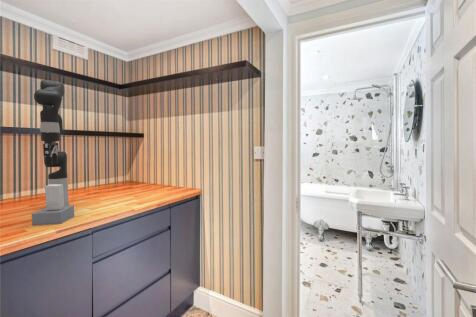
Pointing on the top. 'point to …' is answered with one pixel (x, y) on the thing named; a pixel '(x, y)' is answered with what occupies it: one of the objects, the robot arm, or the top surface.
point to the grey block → (52, 216)
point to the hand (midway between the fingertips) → (52, 163)
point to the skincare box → (54, 197)
